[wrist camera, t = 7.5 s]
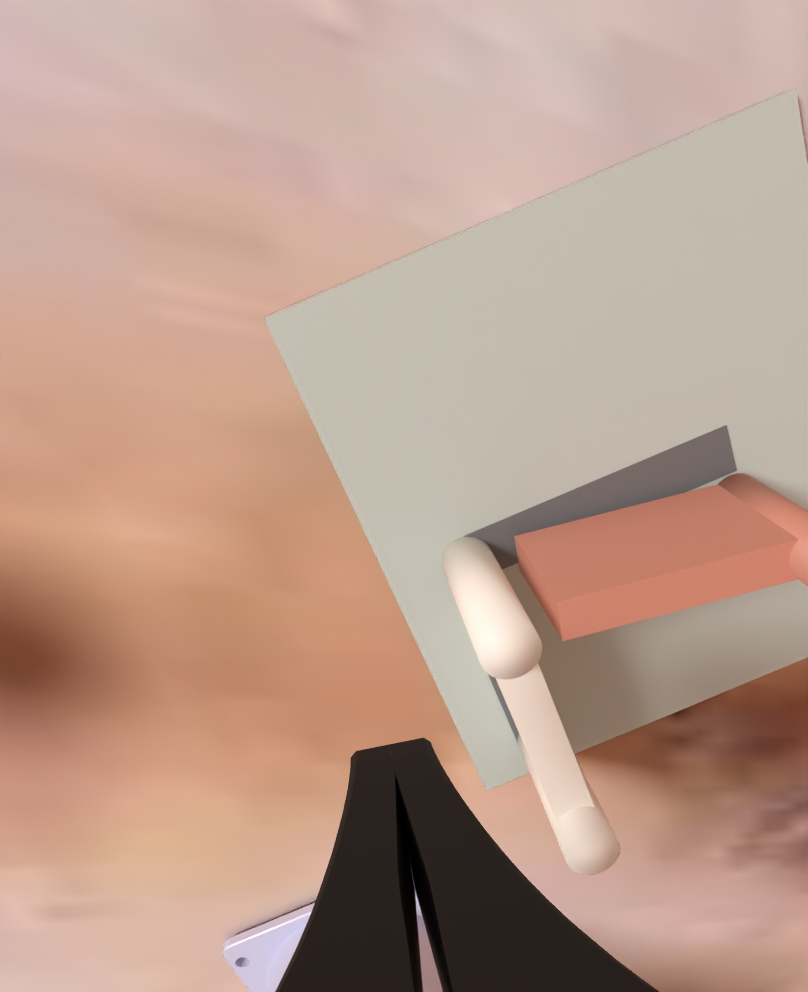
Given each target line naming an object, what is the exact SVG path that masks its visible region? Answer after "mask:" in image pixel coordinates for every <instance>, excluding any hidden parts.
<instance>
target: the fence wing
mask: <svg viewBox="0 0 808 992" xmlns="http://www.w3.org/2000/svg"><path fill="white" fill-rule="evenodd" d="M514 539H515V545H516V551H517V557H518V563H519V569H520V571H521V573H522V575H523V576H524V578H525V580H526V581H527V583H528V585H529V586H530V588H531V590H532V591H533V593H534V595H535V596H536V598H537V600H538V601H539V603H540V605H541V606H542V608H543V609H544V611H545V613H546V614H547V616H548V618H549V619H550V621H551V623H552V624H553V626H554V628H555V629H556V631H557V633H558V634H559V636H560V638H561V639H562V641H566V640H570V639H574V638H577V637H581V636H585V635H589V634H593V633H596V632H600V631H604V630H608V629H612V628H615V627H619V626H623V625H627V624H631V623H635V622H638V621H642V620H646V619H650V618H654V617H657V616H661V615H665V614H669V613H673V612H676V611H680V610H684V609H688V608H692V607H696V606H699V605H703V604H707V603H711V602H715V601H718V600H722V599H726V598H730V597H734V596H737V595H741V594H745V593H749V592H753V591H757V590H760V589H764V588H768V587H772V586H776V585H779V584H783V583H787V582H791V581H795V580H798V579H799V580H800V581H801V582H803V583H804V584H805V585H807V586H808V511H807V510H805V509H804V508H802V507H800V506H799V505H797V504H795V503H794V502H792V501H790V500H789V499H787V498H786V497H784V496H782V495H781V494H779V493H777V492H776V491H774V490H772V489H771V488H769V487H768V486H766V485H764V484H763V483H761V482H759V481H758V480H756V479H754V478H753V477H751V476H749V475H747V474H742V473H738V474H733V475H730V476H727V477H726V478H724V479H723V480H721V481H720V482H719V483H718V484H717V485H713V486H709V487H705V488H701V489H697V490H693V491H689V492H685V493H681V494H677V495H673V496H670V497H666V498H662V499H658V500H654V501H650V502H646V503H642V504H638V505H634V506H630V507H626V508H622V509H619V510H615V511H611V512H607V513H603V514H599V515H595V516H591V517H587V518H583V519H579V520H575V521H571V522H568V523H564V524H560V525H556V526H552V527H548V528H544V529H540V530H536V531H532V532H528V533H524V534H520V535H517V536H514Z"/></svg>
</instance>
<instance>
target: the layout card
mask: <svg viewBox="0 0 808 992" xmlns="http://www.w3.org/2000/svg"><path fill="white" fill-rule="evenodd" d="M264 320H265V322H266V324H267V326H268V328H269V330H270V332H271V335H272V337H273V339H274V341H275V343H276V345H277V347H278V349H279V352H280V354H281V356H282V358H283V360H284V362H285V364H286V366H287V369H288V371H289V373H290V375H291V377H292V379H293V381H294V383H295V386H296V388H297V390H298V392H299V394H300V396H301V398H302V400H303V402H304V405H305V407H306V409H307V411H308V413H309V415H310V417H311V419H312V422H313V424H314V426H315V428H316V430H317V432H318V434H319V436H320V439H321V441H322V443H323V445H324V447H325V449H326V451H327V453H328V456H329V458H330V460H331V462H332V464H333V466H334V468H335V470H336V472H337V475H338V477H339V479H340V481H341V483H342V485H343V487H344V489H345V492H346V494H347V496H348V498H349V500H350V502H351V504H352V506H353V509H354V511H355V513H356V515H357V517H358V519H359V521H360V523H361V526H362V528H363V530H364V532H365V534H366V536H367V538H368V540H369V543H370V545H371V547H372V549H373V551H374V553H375V555H376V557H377V559H378V562H379V564H380V566H381V568H382V570H383V572H384V574H385V576H386V579H387V581H388V583H389V585H390V587H391V589H392V591H393V593H394V596H395V598H396V600H397V602H398V604H399V606H400V608H401V610H402V613H403V615H404V617H405V619H406V621H407V623H408V625H409V627H410V629H411V632H412V634H413V636H414V638H415V640H416V642H417V644H418V646H419V649H420V651H421V653H422V655H423V657H424V659H425V661H426V663H427V666H428V668H429V670H430V672H431V674H432V676H433V678H434V680H435V683H436V685H437V687H438V689H439V691H440V693H441V695H442V697H443V700H444V702H445V704H446V706H447V708H448V710H449V712H450V714H451V716H452V719H453V721H454V723H455V725H456V727H457V729H458V731H459V733H460V736H461V738H462V740H463V742H464V744H465V746H466V748H467V750H468V753H469V755H470V757H471V759H472V761H473V763H474V765H475V767H476V770H477V772H478V774H479V776H480V778H481V780H482V782H483V784H484V787H485V789H486V791H487V790H489V789H492V788H494V787H497V786H499V785H502V784H504V783H506V782H509V781H511V780H514V779H516V778H518V777H521V776H523V775H526V774H528V773H530V772H529V769H528V767H527V764H526V762H525V760H524V757H523V755H522V752H521V750H520V747H519V745H518V734H519V732H518V730H517V727H516V725H515V723H514V720H513V718H512V716H511V713H510V711H509V709H508V706H507V704H506V701H505V699H504V697H503V694H502V692H501V690H500V687H499V685H498V683H497V680H496V678H495V677H492V676H490V675H489V674H488V673H486V672H485V671H484V669H483V668H482V666H481V664H480V662H479V659H478V657H477V654H476V652H475V649H474V647H473V644H472V642H471V639H470V637H469V634H468V632H467V629H466V626H465V624H464V621H463V619H462V616H461V614H460V611H459V609H458V606H457V604H456V601H455V599H454V596H453V594H452V591H451V589H450V586H449V584H448V581H447V579H446V576H445V574H444V571H443V569H442V565H441V558H442V554H443V552H444V550H445V548H446V547H447V546H448V545H449V544H450V543H451V542H452V541H454V540H456V539H458V538H460V537H476V538H479V539H481V540H483V541H484V542H485V543H486V544H487V545H488V546H489V547H490V549H491V551H492V553H493V555H494V556H495V558H496V560H497V562H498V563H499V565H500V567H501V569H502V571H503V572H504V574H505V576H506V578H507V580H508V581H509V583H510V585H511V587H512V589H513V590H514V592H515V594H516V596H517V598H518V599H519V601H520V603H521V605H522V606H523V608H524V610H525V612H526V614H527V615H528V617H529V619H530V621H531V623H532V624H533V626H534V628H535V630H536V632H537V633H538V635H539V637H540V639H541V642H542V654H541V657H540V659H539V661H538V664H539V666H540V669H541V672H542V674H543V677H544V679H545V682H546V684H547V687H548V689H549V692H550V694H551V697H552V700H553V702H554V705H555V707H556V710H557V712H558V715H559V717H560V720H561V722H562V725H563V727H564V730H565V733H566V735H567V738H568V740H569V743H570V745H571V748H572V750H573V752H574V754H576V753H579V752H581V751H584V750H586V749H588V748H591V747H593V746H596V745H598V744H600V743H603V742H605V741H608V740H610V739H612V738H615V737H617V736H620V735H622V734H625V733H627V732H629V731H632V730H634V729H637V728H639V727H641V726H644V725H646V724H649V723H651V722H653V721H656V720H658V719H661V718H663V717H665V716H668V715H670V714H673V713H675V712H678V711H680V710H682V709H685V708H687V707H690V706H692V705H694V704H697V703H699V702H702V701H704V700H706V699H709V698H711V697H714V696H716V695H719V694H721V693H723V692H726V691H728V690H731V689H733V688H735V687H738V686H740V685H743V684H745V683H747V682H750V681H752V680H755V679H757V678H760V677H762V676H764V675H767V674H769V673H772V672H774V671H776V670H779V669H781V668H784V667H786V666H788V665H791V664H793V663H796V662H798V661H801V660H803V659H805V658H808V586H807V585H805V584H804V583H803V582H801V581H800V580H799V579H798V580H795V581H791V582H787V583H783V584H779V585H776V586H772V587H768V588H764V589H760V590H757V591H753V592H749V593H745V594H741V595H737V596H734V597H730V598H726V599H722V600H718V601H715V602H711V603H707V604H703V605H699V606H696V607H692V608H688V609H684V610H680V611H676V612H673V613H669V614H665V615H661V616H657V617H654V618H650V619H646V620H642V621H638V622H635V623H631V624H627V625H623V626H619V627H615V628H612V629H608V630H604V631H600V632H596V633H593V634H589V635H585V636H581V637H577V638H574V639H570V640H566V641H562V639H561V638H560V636H559V634H558V633H557V631H556V629H555V628H554V626H553V624H552V623H551V621H550V619H549V618H548V616H547V614H546V613H545V611H544V609H543V608H542V606H541V605H540V603H539V601H538V600H537V598H536V596H535V595H534V593H533V591H532V590H531V588H530V586H529V585H528V583H527V581H526V580H525V578H524V576H523V575H522V573H521V571H520V569H519V563H518V557H517V551H516V545H515V539H514V536H517V535H520V534H524V533H528V532H532V531H536V530H540V529H544V528H548V527H552V526H556V525H560V524H564V523H568V522H571V521H575V520H579V519H583V518H587V517H591V516H595V515H599V514H603V513H607V512H611V511H615V510H619V509H622V508H626V507H630V506H634V505H638V504H642V503H646V502H650V501H654V500H658V499H662V498H666V497H670V496H673V495H677V494H681V493H685V492H689V491H693V490H697V489H701V488H705V487H709V486H713V485H717V484H718V483H719V482H720V481H721V480H723V479H724V478H726V477H727V476H730V475H733V474H738V473H742V474H747V475H749V476H751V477H753V478H754V479H756V480H758V481H759V482H761V483H763V484H764V485H766V486H768V487H769V488H771V489H772V490H774V491H776V492H777V493H779V494H781V495H782V496H784V497H786V498H787V499H789V500H790V501H792V502H794V503H795V504H797V505H799V506H800V507H802V508H804V509H805V510H807V511H808V163H807V157H806V150H805V143H804V137H803V130H802V124H801V117H800V111H799V104H798V97H797V91H796V89H794V90H789V91H786V92H783V93H781V94H779V95H777V96H774V97H772V98H770V99H767V100H765V101H763V102H760V103H758V104H756V105H753V106H751V107H749V108H746V109H744V110H742V111H740V112H737V113H735V114H733V115H730V116H728V117H726V118H723V119H721V120H719V121H716V122H714V123H712V124H710V125H707V126H705V127H703V128H700V129H698V130H696V131H693V132H691V133H689V134H686V135H684V136H682V137H679V138H677V139H675V140H673V141H670V142H668V143H666V144H663V145H661V146H659V147H656V148H654V149H652V150H649V151H647V152H645V153H643V154H640V155H638V156H636V157H633V158H631V159H629V160H626V161H624V162H622V163H619V164H617V165H615V166H612V167H610V168H608V169H606V170H603V171H601V172H599V173H596V174H594V175H592V176H589V177H587V178H585V179H582V180H580V181H578V182H575V183H573V184H571V185H569V186H566V187H564V188H562V189H559V190H557V191H555V192H552V193H550V194H548V195H545V196H543V197H541V198H539V199H536V200H534V201H532V202H529V203H527V204H525V205H522V206H520V207H518V208H515V209H513V210H511V211H508V212H506V213H504V214H502V215H499V216H497V217H495V218H492V219H490V220H488V221H485V222H483V223H481V224H478V225H476V226H474V227H471V228H469V229H467V230H465V231H462V232H460V233H458V234H455V235H453V236H451V237H448V238H446V239H444V240H441V241H439V242H437V243H435V244H432V245H430V246H428V247H425V248H423V249H421V250H418V251H416V252H414V253H411V254H409V255H407V256H404V257H402V258H400V259H398V260H395V261H393V262H391V263H388V264H386V265H384V266H381V267H379V268H377V269H374V270H372V271H370V272H368V273H365V274H363V275H361V276H358V277H356V278H354V279H351V280H349V281H347V282H344V283H342V284H340V285H337V286H335V287H333V288H331V289H328V290H326V291H324V292H321V293H319V294H317V295H314V296H312V297H310V298H307V299H305V300H303V301H300V302H298V303H296V304H294V305H291V306H289V307H287V308H284V309H282V310H280V311H277V312H275V313H273V314H270V315H268V316H266V317H265V318H264Z"/></svg>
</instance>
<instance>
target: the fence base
mask: <svg viewBox="0 0 808 992" xmlns="http://www.w3.org/2000/svg"><path fill="white" fill-rule="evenodd" d="M441 565H442V569H443V571H444V574H445V576H446V579H447V581H448V584H449V586H450V589H451V591H452V594H453V596H454V599H455V601H456V604H457V606H458V609H459V611H460V614H461V616H462V619H463V621H464V624H465V626H466V629H467V632H468V634H469V637H470V639H471V642H472V644H473V647H474V649H475V652H476V654H477V657H478V659H479V662H480V664H481V666H482V668H483V669H484V671H485V672H486V673H488V674H489V675H490V676H492V677H495V678H496V680H497V683H498V685H499V687H500V690H501V692H502V694H503V697H504V699H505V701H506V704H507V706H508V709H509V711H510V713H511V716H512V718H513V720H514V723H515V725H516V727H517V730H518V732H519V734H518V745H519V747H520V750H521V752H522V755H523V757H524V760H525V762H526V764H527V767H528V769H529V772H530V774H531V777H532V779H533V782H534V784H535V786H536V789H537V791H538V794H539V796H540V799H541V801H542V804H543V806H544V808H545V811H546V813H547V816H548V818H549V821H550V823H551V826H552V828H553V830H554V833H555V835H556V838H557V840H558V843H559V845H560V848H561V850H562V852H563V855H564V857H565V860H566V862H567V865H568V867H569V868H570V869H571V870H572V871H573V872H575V873H577V874H580V875H593V874H598V873H600V872H603V871H605V870H606V869H608V868H609V867H611V866H612V865H613V864H614V863H615V861H616V860H617V858H618V856H619V854H620V844H619V842H618V840H617V838H616V836H615V834H614V832H613V830H612V828H611V826H610V824H609V822H608V820H607V818H606V816H605V814H604V812H603V810H602V808H601V806H600V804H599V802H598V800H597V798H596V796H595V794H594V792H593V790H592V788H591V786H590V784H589V782H588V780H587V778H586V776H585V774H584V772H583V770H582V768H581V766H580V764H579V762H578V760H577V758H576V756H575V754H574V752H573V750H572V748H571V745H570V743H569V740H568V738H567V735H566V733H565V730H564V727H563V725H562V722H561V720H560V717H559V715H558V712H557V710H556V707H555V705H554V702H553V700H552V697H551V694H550V692H549V689H548V687H547V684H546V682H545V679H544V677H543V674H542V672H541V669H540V666H539V664H538V661H539V659H540V657H541V654H542V642H541V639H540V637H539V635H538V633H537V632H536V630H535V628H534V626H533V624H532V623H531V621H530V619H529V617H528V615H527V614H526V612H525V610H524V608H523V606H522V605H521V603H520V601H519V599H518V598H517V596H516V594H515V592H514V590H513V589H512V587H511V585H510V583H509V581H508V580H507V578H506V576H505V574H504V572H503V571H502V569H501V567H500V565H499V563H498V562H497V560H496V558H495V556H494V555H493V553H492V551H491V549H490V547H489V546H488V545H487V544H486V543H485V542H484V541H483V540H481V539H479V538H476V537H460V538H458V539H456V540H454V541H452V542H451V543H450V544H449V545H448V546H447V547H446V548H445V550H444V552H443V554H442V558H441Z"/></svg>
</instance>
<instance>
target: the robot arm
mask: <svg viewBox="0 0 808 992" xmlns="http://www.w3.org/2000/svg"><path fill="white" fill-rule="evenodd" d="M390 747H391V748H390ZM391 753H392V754H391ZM223 956H224V959H225V960H226V961H227V962H228V964H229V965H230V966H231V968H232V969H233V970H234V971H235V973H236V974H237V975H238V977H239V978H240V979H241V981H242V982H243V983H244V984H245V986H246V987H247V988H248V990H249V991H250V992H659V991H658V990H656V989H655V988H653V987H652V986H651V985H649V984H648V983H646V982H645V981H644V980H642V979H641V978H640V977H638V976H637V975H636V974H634V973H633V972H632V971H630V970H629V969H628V968H626V967H625V966H624V965H623V964H621V963H620V962H619V961H617V960H616V959H615V958H613V957H612V956H611V955H610V954H609V953H608V952H606V951H605V950H604V949H603V948H602V947H600V946H599V945H598V944H597V943H596V942H594V941H593V940H592V939H591V938H590V937H589V936H587V935H586V934H585V933H584V932H583V931H581V930H580V929H579V928H578V927H577V926H576V925H574V924H573V923H572V922H571V921H570V920H569V919H568V918H566V917H565V916H564V915H563V914H562V913H561V912H560V911H559V910H558V909H557V908H556V907H555V906H554V905H553V904H552V903H551V902H550V901H549V900H548V899H546V898H545V897H544V895H543V894H542V893H541V892H540V891H539V890H538V889H537V888H536V887H535V886H534V885H533V884H532V883H531V882H530V881H529V880H528V879H527V878H526V877H525V876H524V875H523V874H522V873H521V872H520V870H519V869H518V868H517V867H516V866H515V865H514V864H513V863H512V862H511V860H510V859H509V858H508V857H507V856H506V855H505V853H504V852H503V851H502V850H501V849H500V847H499V846H498V845H497V844H496V843H495V841H494V840H493V839H492V838H491V837H490V835H489V834H488V833H487V831H486V830H485V829H484V828H483V826H482V825H481V824H480V822H479V821H478V820H477V818H476V817H475V816H474V814H473V813H472V811H471V810H470V809H469V807H468V806H467V805H466V803H465V802H464V800H463V799H462V798H461V796H460V795H459V793H458V792H457V790H456V789H455V787H454V785H453V784H452V782H451V781H450V779H449V777H448V776H447V774H446V772H445V771H444V769H443V767H442V766H441V764H440V762H439V760H438V758H437V756H436V754H435V752H434V750H433V747H432V745H431V742H430V741H428V740H426V739H425V738H420V739H415V740H410V741H405V742H400V743H395V744H390V745H385V746H380V747H375V748H370V749H365V750H360V751H356V752H355V753H354V754H353V756H352V757H351V768H350V777H349V784H348V790H347V796H346V800H345V805H344V810H343V814H342V818H341V822H340V826H339V830H338V833H337V837H336V841H335V845H334V848H333V852H332V855H331V858H330V861H329V864H328V867H327V870H326V873H325V876H324V879H323V882H322V885H321V888H320V891H319V894H318V896H317V899H316V902H315V903H313V904H310V905H308V906H306V907H303V908H301V909H298V910H296V911H294V912H291V913H289V914H286V915H284V916H281V917H279V918H277V919H274V920H272V921H269V922H267V923H265V924H262V925H260V926H257V927H255V928H252V929H250V930H248V931H245V932H243V933H240V934H238V935H235V936H233V937H231V938H229V939H228V940H226V942H225V943H224V947H223Z"/></svg>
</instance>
